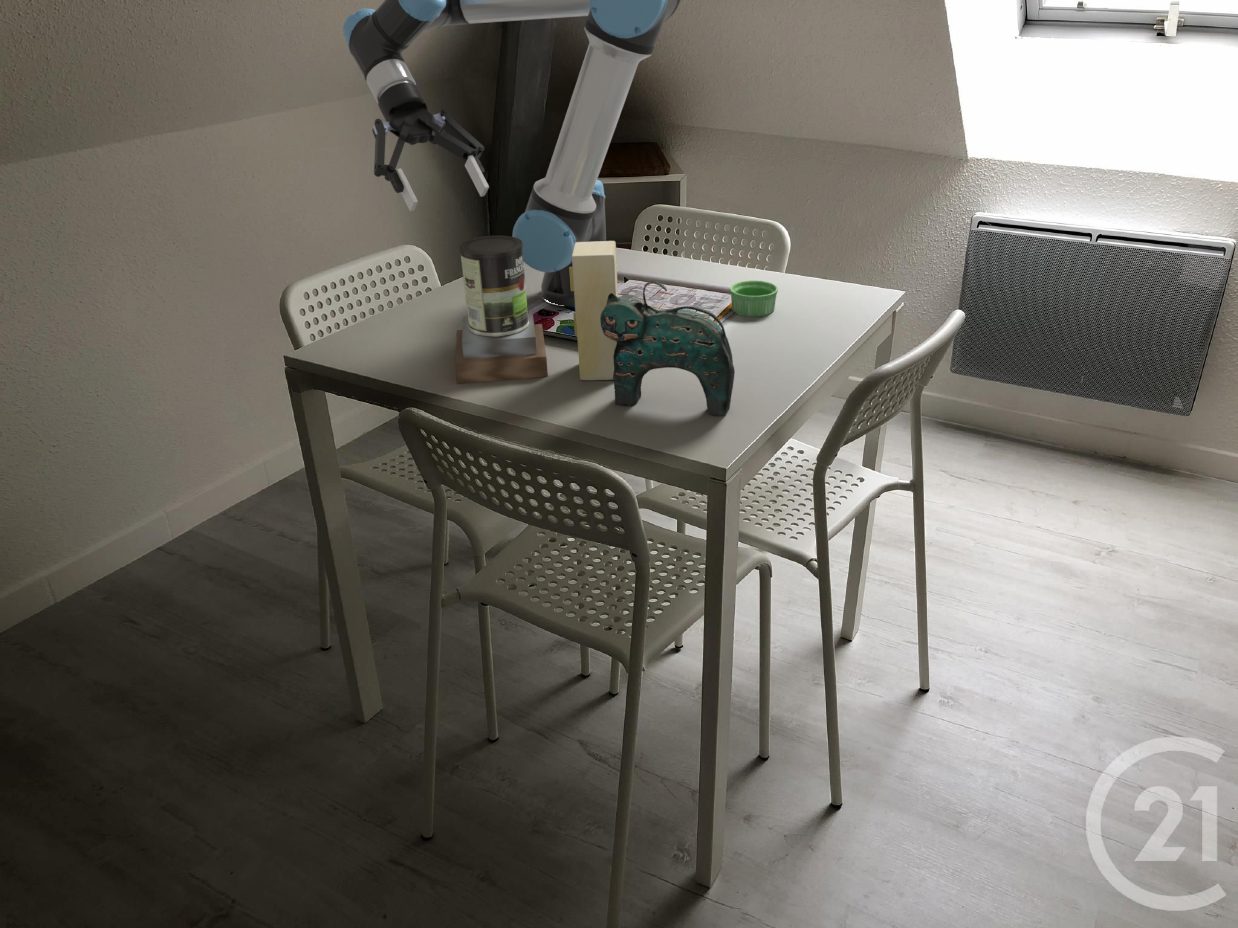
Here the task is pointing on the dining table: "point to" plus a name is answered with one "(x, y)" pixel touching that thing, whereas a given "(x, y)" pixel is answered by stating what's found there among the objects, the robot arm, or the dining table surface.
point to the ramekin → (753, 298)
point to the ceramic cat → (667, 348)
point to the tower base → (501, 363)
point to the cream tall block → (593, 306)
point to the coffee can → (494, 285)
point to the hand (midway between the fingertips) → (450, 199)
